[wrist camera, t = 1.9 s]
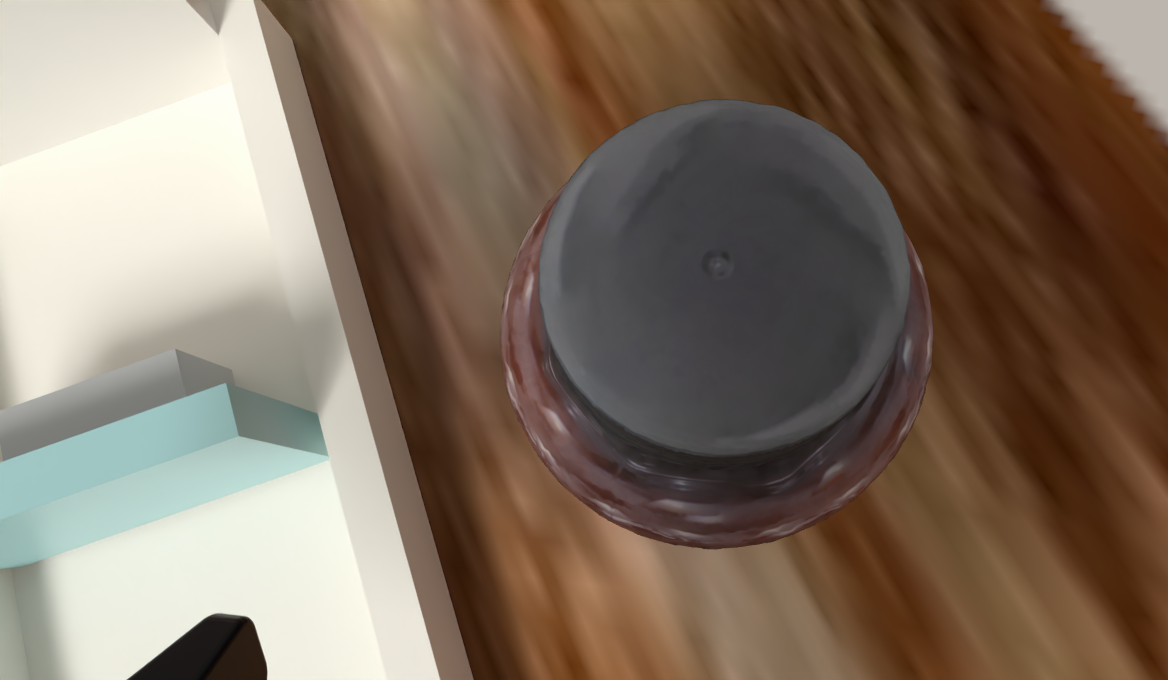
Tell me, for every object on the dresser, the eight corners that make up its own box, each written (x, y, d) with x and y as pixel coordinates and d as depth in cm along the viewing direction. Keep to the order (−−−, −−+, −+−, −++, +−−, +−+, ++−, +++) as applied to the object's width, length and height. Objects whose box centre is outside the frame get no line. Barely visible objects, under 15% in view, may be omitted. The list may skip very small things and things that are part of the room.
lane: (515, 826, 19) (428, 969, 13) (56, 977, 20) (-250, 1190, 13) (291, 39, 24) (145, -145, 17) (-77, 174, 24) (-354, 42, 18)
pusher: (335, 458, 20) (238, 436, 16) (18, 567, 21) (-161, 576, 16) (304, 343, 21) (204, 293, 17) (-1, 451, 21) (-179, 430, 17)
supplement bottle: (530, 490, 21) (352, 437, 10) (617, 249, 22) (546, -49, 11) (789, 584, 20) (918, 643, 9) (868, 327, 21) (1073, 86, 10)
